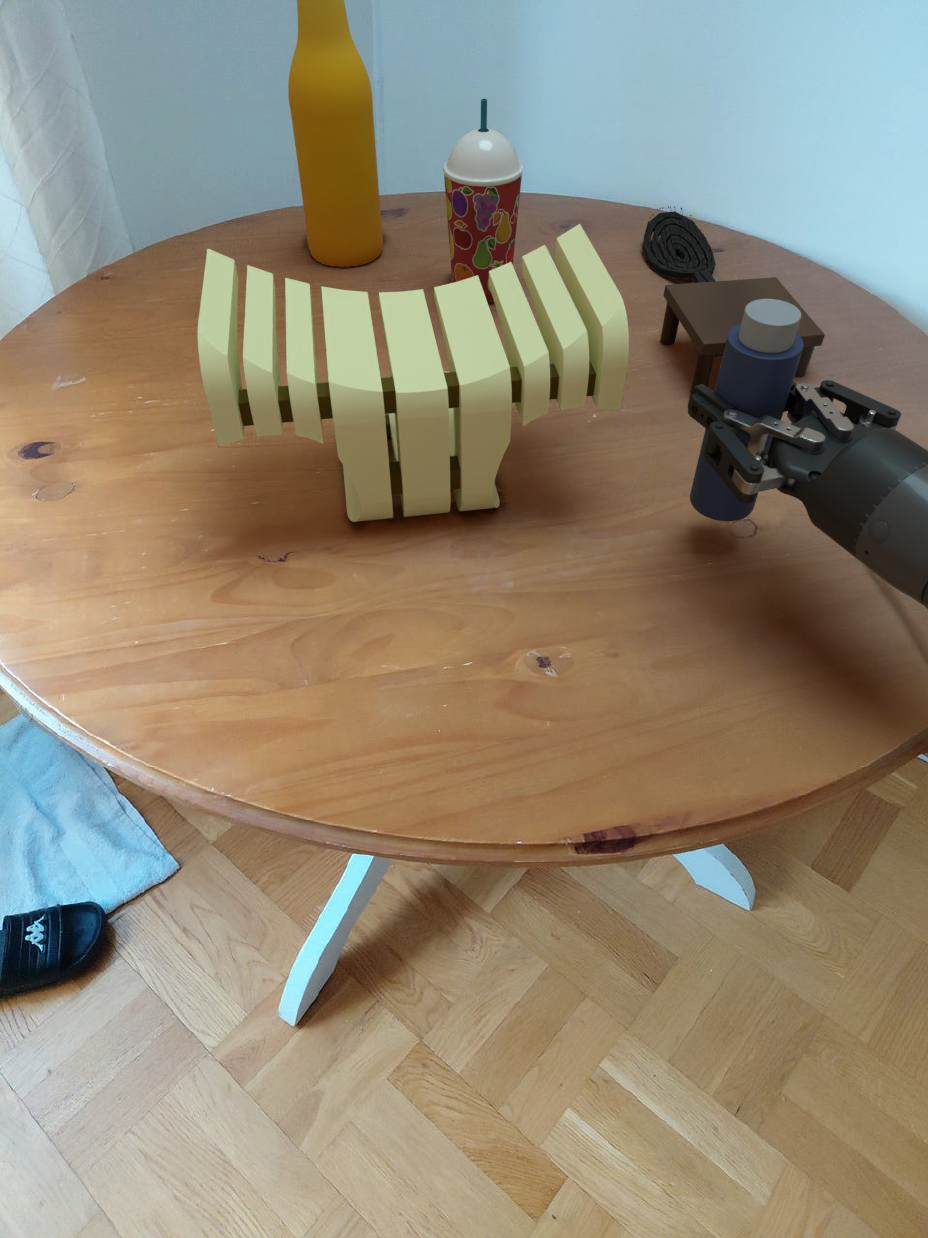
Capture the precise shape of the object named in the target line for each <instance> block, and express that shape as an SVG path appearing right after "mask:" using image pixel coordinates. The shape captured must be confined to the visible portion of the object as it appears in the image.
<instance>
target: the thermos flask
mask: <svg viewBox="0 0 928 1238" xmlns="http://www.w3.org/2000/svg"><path fill="white" fill-rule="evenodd" d="M800 320H801V312H800V310H799V309H798V308H797V307H796V306H794V305H792V304H790V303H788V302H785V301H781V300H777V299H759V300H754V301H752V302H750V303H748V304H747V305H746V307H745V311H744V315H743V319H742V323H741V324H739V325H737V326H735V327H733V328H732V329H731V330H730V331H729V333H728V336H727V340H726V344H725V349H724V353H723V354H722V357H721V362H720V366H719V370H718V374H717V378H716V383H715V387H714V391H713V392H715V393H716V394H717V395H719V396H720V397H722V398H723V399H724V400H725V401H727V402H728V403H730V404H731V405H733V406H734V407H735V408H734V409H735V410H738V411H741V412H743V413H746V414H748V415H751V416H753V417H755V418H759V419H760V418H762V417H763V416H766V415H767V416H771V417H773V418H776V419H778V420H781V421H782V418H783V415H784V413H785V412H784V409H785V406H786V402H787V399H788V396H789V393H790V389H791V386H792V383H793V382H794V381H795V380H794V379H795V378H796V377H795V373H796V370H797V367H798V364H799V360H800V357H801V354H802V351H803V347H804V344H803V340H802V338H801V337H800V336H799V335H798V334H797V330H798V326H799V323H800ZM704 429H705V430H704V434H703V438H702V442H701V446H700V450H699V455H698V459H697V463H696V467H695V471H694V477H693V481H692V485H691V487H690V488H691V489H690V493H689V501H690V504H691V506H692V507H693V508H694V510H695V511H696V512H698V513H699V514H700V515H702V516H703V517H706V518H707V519H711V520H714V521H719V522H737V521H739V520H740V521H741V520H743V519H745V518H747V517H748V516H750V515H751V513H752V512H753V511H754V509H755V505H756V502H757V499H758V495H759V492H757V495H756V498H755V501H754V502H753V503H751V504H744V503H741V502H739V501H738V500H737V499H736V497H735V496H734V495H733V493H732V492H731V491H730V490H729V488H728V487H727V486H726V485H725V483H724V482H723V481H722V480H721V478H720V477H719V476H718V474H717V473H716V472H715V471H714V469H713V468H712V467H711V466H710V464H709V463H708V462H707V461H706V459H705V458H704V457H703V453H704V449H705V444H706V440H707V436H708V432H709V431H708V430H707V429H706V428H704ZM737 437H739V438H742V439H744V440H747V441H750V437H751V436H750V434H749V433H748V432H747V431H744V430H742V429H738V433H737ZM772 438H773V436H772V435H769V434H768V436H767V440H766V443H765V446H764V451H765V453H766V454H767V455H768V450H769V447H770V444H771V441H772Z"/></svg>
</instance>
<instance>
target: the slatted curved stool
mask: <svg viewBox="0 0 928 1238" xmlns="http://www.w3.org/2000/svg"><path fill="white" fill-rule="evenodd" d="M555 239H556V240H555V241H556V242H555V254H554V260H553V257H552V255H551V254H550V252H549V249H548V247H547V246H546V244H543V245H542V246H540V247H537V248H535V249H534V250H532V251H530V252H528V253H526V254H523V255H522V258H521V274H522V277H523V279H524V282H525V284H526V288H527V289H528V292H529V295H530V298H531V300H532V303H533V307H534V308H535V312H536V316H537V319H538V323H537V320H536V319H535V315H534V313H533V310H532V308H531V306H530V304H529V300H528V299H527V296H526V293H525V292H524V290H523V289H524V288H523V287H522V284H521V282H520V280H519V277H518V275H517V272H516V270H515V267H514V264H513V265H512V263H511V262H510V263H507V264H505V265H502V266H500V267H498V268H495V269H493V270H491V271H489V288H490V291H491V293H492V296H493V299H494V306H495V308H496V312H497V316H498V319H499V322H500V326H501V329H502V335H503V338H504V342H505V346H506V351H507V355H506V352H505V349H504V346H503V343H502V341H501V340H502V339H501V337H500V335H499V332H498V329H497V326H496V323H495V320H494V317H493V314H492V312H491V309H490V305H489V303H487V300H486V297H485V294H484V291H483V288H482V286H481V283H480V280H479V277H478V275H477V276H474V277H471V278H468V279H464V280H461V281H458V282H454V283H452V282H450V283H447V284H443V285H437V286H434V287H433V297H434V298H433V299H434V304H435V308H436V312H437V316H438V320H439V324H440V330H441V333H442V338H443V342H444V343H443V344H444V348H445V353H446V358H447V364H448V370H449V371H448V372H444V368H443V363H442V361H441V356H440V352H439V348H438V343H437V340H436V335H435V331H434V328H433V324H432V320H431V315H430V311H429V307H428V304H427V300H426V296H425V295H426V294H425V292H424V289H423V288H420V289H413V290H404V291H403V290H402V291H379V292H378V302H379V309H380V314H381V315H380V316H381V320H382V326H383V334H384V340H385V347H386V354H387V361H388V370H389V376H386V377H381V372H380V366H379V358H378V353H377V352H378V351H377V345H376V337H375V331H374V326H373V325H374V324H373V320H372V319H373V318H372V313H371V306H370V305H371V304H370V299H369V293H368V291H360V290H347V289H340V288H334V287H328V286H322V285H321V286H320V287H321V289H320V290H321V300H322V313H323V314H322V315H323V326H324V328H323V329H324V338H325V340H324V341H325V349H326V350H325V352H326V362H327V363H326V365H327V366H326V367H327V378H328V380H327V382H319V378H318V377H319V376H318V367H317V355H316V344H315V342H316V341H315V333H314V332H315V331H314V316H313V303H312V302H313V300H312V292H311V285H310V283H307V282H304V281H300V280H298V279H297V280H296V279H293V278H288V277H284V282H285V283H284V286H285V287H284V288H285V338H286V339H285V345H286V348H285V350H286V351H285V353H286V356H285V357H286V358H285V359H286V379H287V385H281V384H282V383H281V377H280V367H279V355H278V338H277V335H278V334H277V307H276V306H277V303H276V302H277V300H276V299H277V298H276V296H277V295H276V284H275V278H274V273H272V272H269V271H266V270H263V269H260V268H258V267H255V266H252V265H249V264H246V265H247V266H246V286H245V303H244V304H245V306H244V323H243V343H242V344H243V345H242V346H243V347H242V365H243V371H244V378H245V386H246V388H243V384H242V383H243V382H242V377H241V369H240V359H239V342H238V341H239V340H238V311H239V310H238V309H239V308H238V305H239V284H240V283H239V276H238V270H237V266H236V265H237V264H236V261H235V259H233V258H232V257H230V256H227V255H224V254H222V253H220V252H217V251H215V250H213V249H210V248H208V247H207V248H206V255H205V257H206V258H205V265H204V274H203V280H202V281H203V282H202V289H201V298H200V305H199V314H198V321H197V349H198V350H197V351H198V360H199V368H200V374H201V380H202V386H203V390H204V395H205V399H206V403H207V408H208V411H209V415H210V419H211V423H212V426H213V431H214V434H215V438H216V443H217V446H218V448H220V447H222V446H226V445H229V444H232V443H237V442H240V441H243V440H244V439H245V427H249V426H253V427H254V431H255V437H256V438H258V437H267V436H283V435H284V427H283V426H284V423H293V425H294V432H295V436H296V437H300V438H305V439H308V440H312V441H315V442H317V443H320V444H322V445H325V443H324V427H323V420H331V419H332V421H333V429H334V437H335V443H336V451H337V459H338V460H339V461H340V463H341V464H342V469H343V480H344V493H345V494H344V495H345V504H346V514H347V517H348V519H349V521H350V522H353V523H355V522H365V521H377V520H385V519H393V518H394V507H393V497H392V496H397V495H398V496H399V498H400V504H401V510H402V515H403V517H404V518H406V517H416V516H427V515H436V514H437V515H438V514H447V513H450V511H451V490H453V494H454V499H455V503H456V507H457V510H458V511H459V512H466V511H477V510H487V509H496V508H499V507H500V497H499V494H498V490H497V486H496V482H495V481H496V477H497V474H498V472H499V468H500V465H501V462H502V460H503V457H504V456H505V453H506V451H507V449H508V447H509V445H510V443H511V433H512V414H513V413H512V409H513V407H512V406H513V404H515V408H516V411H517V414H518V416H519V420H520V422H521V425H522V427H524V426H526V425H528V424H529V423H531V422H532V421H534V420H536V419H539V418H541V417H543V416H545V415H548V414H549V409H550V400H551V401H552V400H556V402H557V405H558V407H559V409H560V411H565V410H573V409H586V404H587V403H586V402H587V397H591V398H592V401H593V403H594V405H595V407H596V409H600V410H610V411H616V412H621V410H622V404H623V398H624V397H623V396H624V392H625V391H624V390H625V385H626V384H625V383H626V378H627V370H628V363H629V354H630V353H629V352H630V347H629V346H630V336H629V335H630V334H629V321H628V315H627V309H626V306H625V302H624V299H623V296H622V294H621V293H620V291H619V289H618V288H617V285H616V283H615V282H614V280H613V279H612V277H611V275H610V274H609V272H608V269H607V268H606V266H605V264H604V263H603V261H602V260H601V258H600V256H599V254H598V253H597V251H596V249H595V247H594V245H593V244H592V242H591V240H590V238H589V237H588V235H587V233H586V231H585V229H584V228H583V226H582V224H581V223H578V224H577V225H575V226H574V227H571V228H570V229H569V230H567V231H565V232H564V233H562V234H560V235H559V236H557V237H556V238H555ZM554 261H555V262H554ZM557 266H558V267H557ZM558 268H559V270H558ZM559 271H560V272H559ZM561 275H562V276H561ZM564 282H565V283H564ZM538 325H539V326H538ZM388 437H389V438H390V439H391V446H392V453H393V458H394V460H393V461H390V459H389V446H388Z"/></svg>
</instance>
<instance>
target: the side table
mask: <svg viewBox="0 0 928 1238" xmlns="http://www.w3.org/2000/svg"><path fill="white" fill-rule="evenodd" d="M663 297H664V299H665V300H666V305H665V310H664V311H665V312H664V316H663V322H662V327H661V333H660V340H659V343H660V344H661V345H663V346H665V347H672V346H674V345H675V344H676V341H677V340H676V339H677V335H678V330H679V326H680V325H679V324H680V323H681V326H682V327H683V330H685V332H686V334H687V335H688V337H689V338H690V340H691V342H692V343H693V344H694V346H695V348H696V350H697V352H698V353H697V357H696V362H695V365H694V369H693V370H694V371H693V375H692V379H691V385H690V389H689V394H690V393H691V389H692V388H693V387H695V386H698V385H700V384H704V385H705V386H707V387H708V388H709V383H710V380H711V374H712V371H713V367H714V362H715V358H716V355H723V353H724V349H725V344H726V340H727V336H728V333H729V331H730V330H731V329H732V328H733V327H735V326H737V325H739V324H741V323H742V319H743V315H744V311H745V307H746V305H747V304H748V303H750V302H752V301H754V300H759V299H777V300H781V301H785V302H788V303H790V304H792V305H794V306H796V307H797V308H798V309H799V310H800V312H801V320H800V323H799V326H798V330H797V334H798V335H799V336H800V337H801V338H802V340H803V344H804V347H803V351H802V354H801V357H800V360H799V364H798V367H797V370H796V373H795V377H794V378H804V377H805V376H806V375H807V372H808V369H809V366H810V363H811V360H812V356H813V353H814V351H815V347H821V346H822V345H823V342H824V339H825V336H826V334H825V333H824V332H823V330H822V329H821V328H820V326H818V324H817V323H816V322H815V321H814V320H813V319H812V318H811V316H810V315H809V314H808V313H807V312H806V311H805V309H804V308H803V307H802V305H801V304H799V302H798V301H797V300H796V299H795V297H794V296H793V295H792V294H791V293H790V291H788V290H787V288H786V287H785V286H784V284H783V283H782V282H781V281H780V280H779V279H778V277H776V276H773V277H759V278H744V279H733V280H732V279H731V280H729V279H728V280H715V282H701V283H694V282H688V283H675V284H665V285H664V291H663Z"/></svg>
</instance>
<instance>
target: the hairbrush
mask: <svg viewBox="0 0 928 1238" xmlns="http://www.w3.org/2000/svg"><path fill="white" fill-rule="evenodd" d="M667 208H668V209H672V206H669V205H668V206H667ZM673 208H674V209H676V205H675V206H673ZM661 209H662V210H664V207H663V206H662V207H659V208H657V209H656V210H657V211H659V210H661ZM680 210H683V207H680ZM654 214H655V213H652V216H649V219H650V220H648V221H647V224H646V227H645V230H644V235H643V240H642V246H641V249H642V250H641V251H642V253H643V255H644V258H645V260H646V263H647V265H648V268H649V269H651V270H653V271H654V272H656V273H657V274H658V275H660V276H662V277H667V278H672V279H677V280H691V281H692V283H701V282H715V281H716V279H715V278H714V277H713V275H714V270H715V268H716V264H717V263H716V260H715V255H714V252H713V248H712V247H711V245H710V243H709V242H708V239H707V237H706V236H705V234H704V233H703V231H702V229H701V228H699V227H698V225H697V224H696V223H695V221H694V220H692V219H690V218H688V217H687V215H686V216H685V215H684V214H683V211H681V213H679V212H677V211H676V210H674V211H665V212H664V211H663V212H658V213H657V214H656V215H655V216H654ZM689 216H690V217H692V214H690V215H689Z"/></svg>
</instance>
